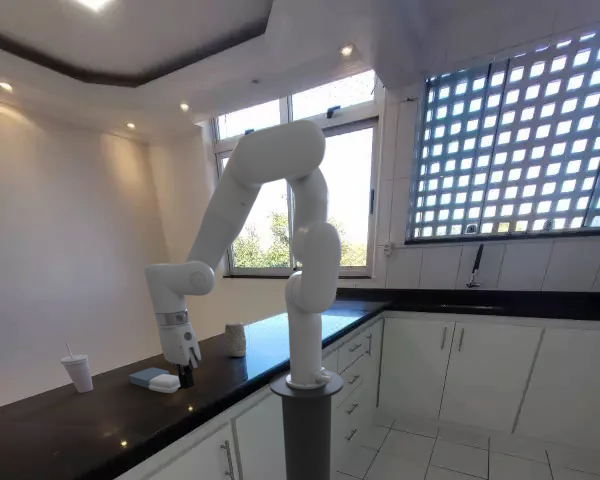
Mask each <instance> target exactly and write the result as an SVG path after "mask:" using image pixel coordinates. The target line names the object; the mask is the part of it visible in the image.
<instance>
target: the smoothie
mask: <svg viewBox="0 0 600 480" xmlns="http://www.w3.org/2000/svg"><path fill="white" fill-rule="evenodd" d="M65 346H66V349H67V351H68V353H69V355H68V356H65V357H62V358H61V359H59V361H60V364H61V365H63V367H64V368H65V370H66V373H67V374H68V376H69V378H70V380H71V382H72V383H73V385H74V387H75V388H76V391H77V393H79V394H80V393H81V394H83V393H89V392H90V391H91V392H92V391H93V390H94V385H93V379H92V374H91V369H90V364H89V356H88V354H84V353H83V354H82V353H80V354H79V353H77V354H73V352H72V349H71V347H70V344H69V342H68V341H67V342H65Z"/></svg>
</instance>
